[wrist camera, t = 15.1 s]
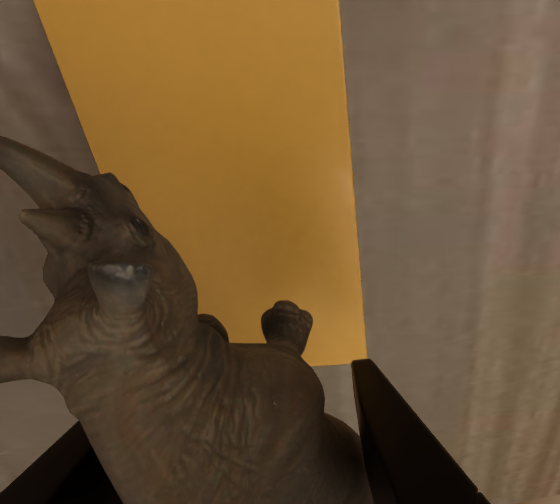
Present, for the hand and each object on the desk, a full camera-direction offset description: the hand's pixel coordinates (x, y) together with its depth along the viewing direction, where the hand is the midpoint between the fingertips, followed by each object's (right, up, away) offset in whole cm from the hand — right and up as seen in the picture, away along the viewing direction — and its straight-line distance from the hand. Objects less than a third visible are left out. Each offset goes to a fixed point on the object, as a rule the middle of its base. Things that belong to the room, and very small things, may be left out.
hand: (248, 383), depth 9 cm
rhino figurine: (0, +1, +2) cm, 2 cm away
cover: (-1, +5, +7) cm, 8 cm away
